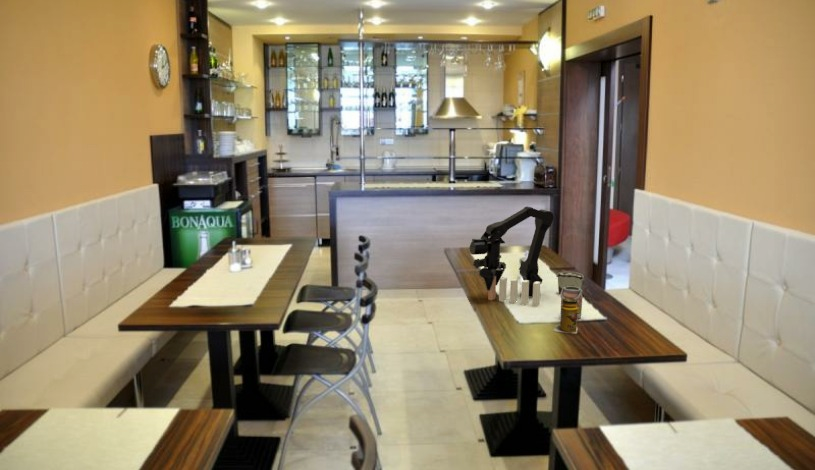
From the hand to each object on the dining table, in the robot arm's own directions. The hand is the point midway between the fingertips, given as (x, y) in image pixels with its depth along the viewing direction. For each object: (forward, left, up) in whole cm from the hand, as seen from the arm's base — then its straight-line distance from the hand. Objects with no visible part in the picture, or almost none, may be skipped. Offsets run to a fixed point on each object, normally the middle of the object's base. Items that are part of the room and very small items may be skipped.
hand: (492, 287), depth 274 cm
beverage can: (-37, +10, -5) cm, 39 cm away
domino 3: (-10, 0, -5) cm, 11 cm away
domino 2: (-5, 0, -5) cm, 7 cm away
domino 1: (0, 0, -5) cm, 5 cm away
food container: (-29, -25, -5) cm, 39 cm away
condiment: (-39, +26, -5) cm, 47 cm away
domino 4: (-15, 0, -5) cm, 16 cm away
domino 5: (-20, 0, -5) cm, 21 cm away
